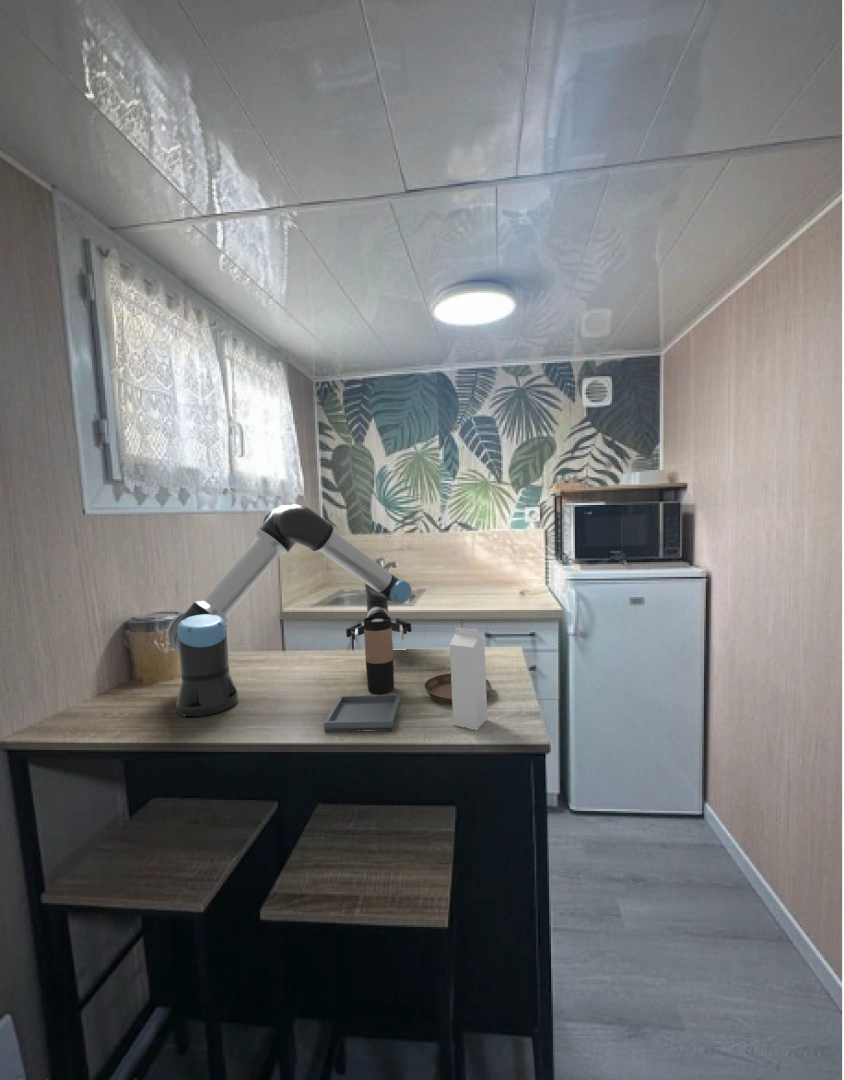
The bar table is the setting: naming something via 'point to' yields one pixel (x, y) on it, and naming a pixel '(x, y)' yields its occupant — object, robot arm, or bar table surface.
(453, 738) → the bar table surface
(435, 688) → the plant saucer
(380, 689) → the travel mug
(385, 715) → the tray
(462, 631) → the milk
